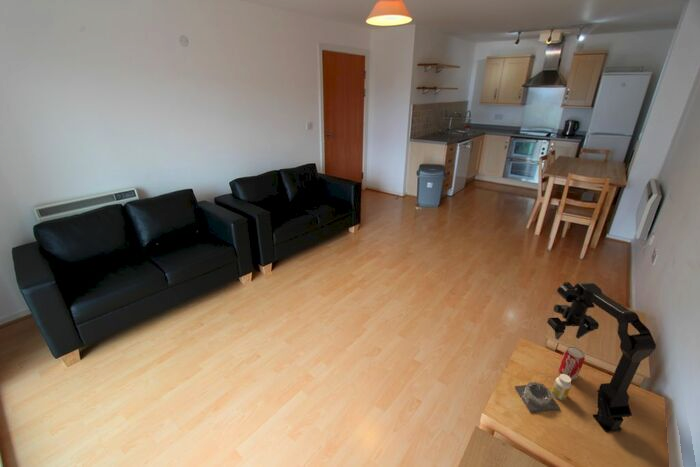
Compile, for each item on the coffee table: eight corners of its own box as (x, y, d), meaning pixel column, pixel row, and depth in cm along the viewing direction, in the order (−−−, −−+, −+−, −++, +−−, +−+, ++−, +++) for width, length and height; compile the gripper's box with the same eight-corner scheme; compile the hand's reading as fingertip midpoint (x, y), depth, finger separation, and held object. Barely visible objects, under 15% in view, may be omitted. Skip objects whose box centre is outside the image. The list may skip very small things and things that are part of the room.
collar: (559, 409, 127) (562, 403, 125) (530, 412, 126) (532, 405, 124) (542, 385, 136) (544, 378, 135) (514, 387, 136) (516, 381, 134)
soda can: (557, 377, 140) (566, 355, 134) (557, 365, 146) (565, 343, 140) (577, 383, 137) (587, 361, 131) (575, 371, 143) (585, 349, 137)
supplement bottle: (551, 397, 132) (558, 380, 127) (550, 386, 136) (556, 370, 132) (567, 402, 130) (574, 385, 125) (565, 391, 134) (572, 374, 130)
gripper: (585, 296, 141) (574, 324, 148) (544, 298, 140) (535, 326, 147) (605, 313, 131) (592, 342, 138) (561, 316, 130) (550, 345, 137)
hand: (566, 338), depth 140 cm, fingers open, 9 cm apart
